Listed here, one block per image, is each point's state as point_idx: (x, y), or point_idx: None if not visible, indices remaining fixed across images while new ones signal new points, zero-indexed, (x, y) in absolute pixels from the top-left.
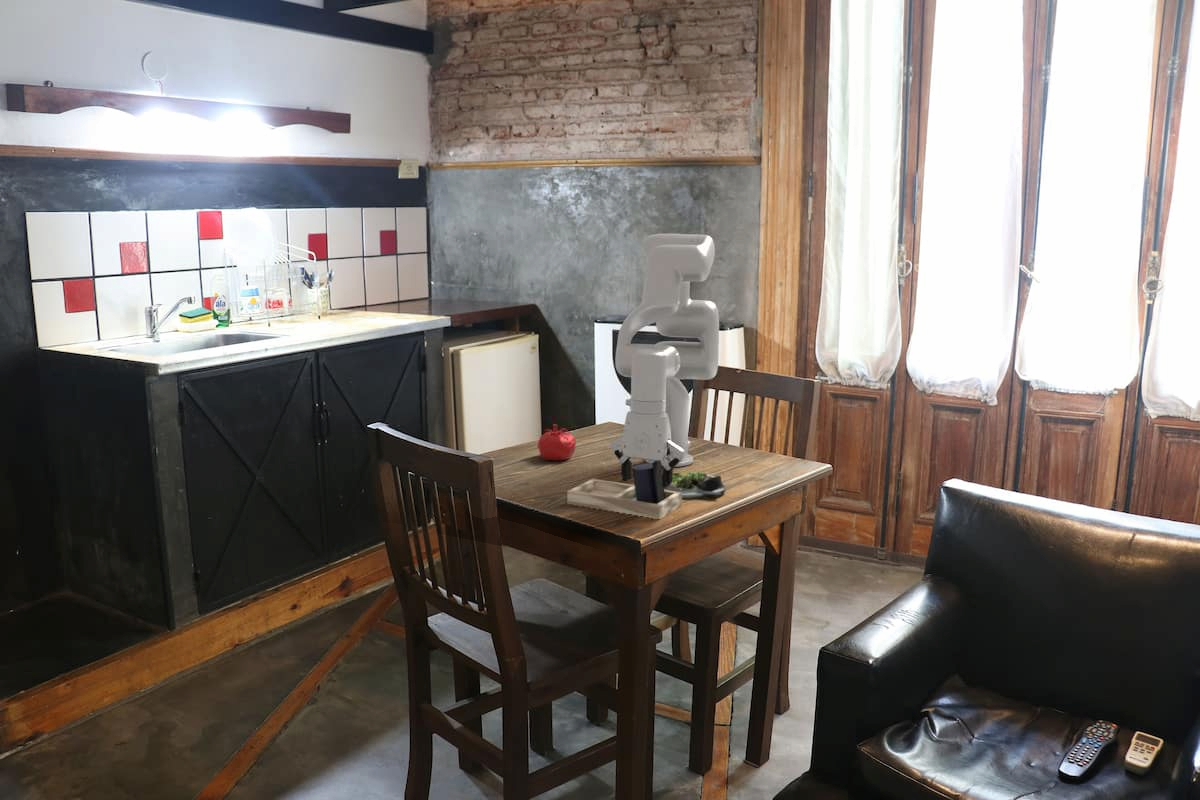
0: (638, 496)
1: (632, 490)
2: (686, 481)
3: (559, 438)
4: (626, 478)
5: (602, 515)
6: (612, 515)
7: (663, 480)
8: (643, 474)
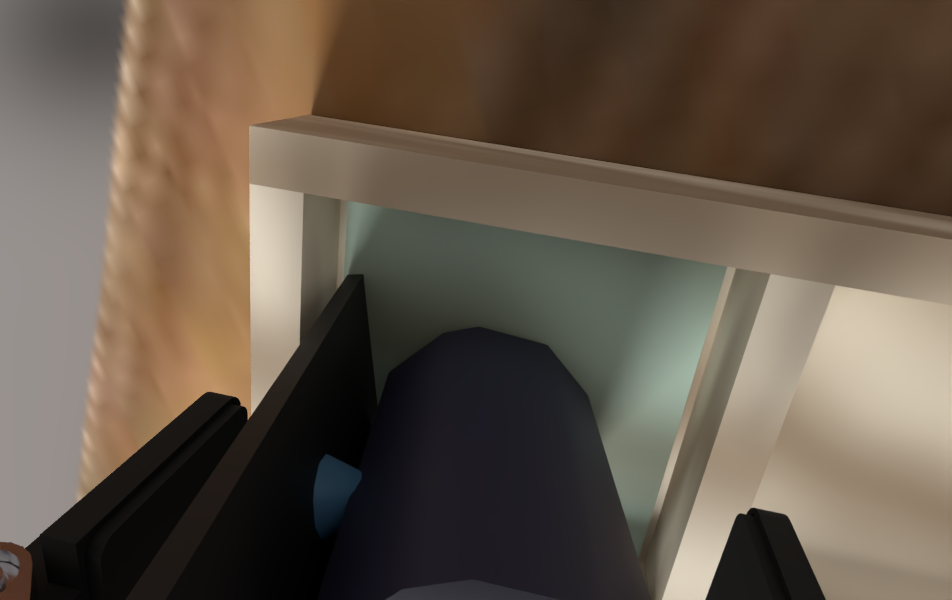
0: (556, 381)
1: (671, 558)
2: None
3: None
4: (739, 551)
5: (859, 40)
6: (751, 81)
7: (178, 437)
8: (455, 521)
